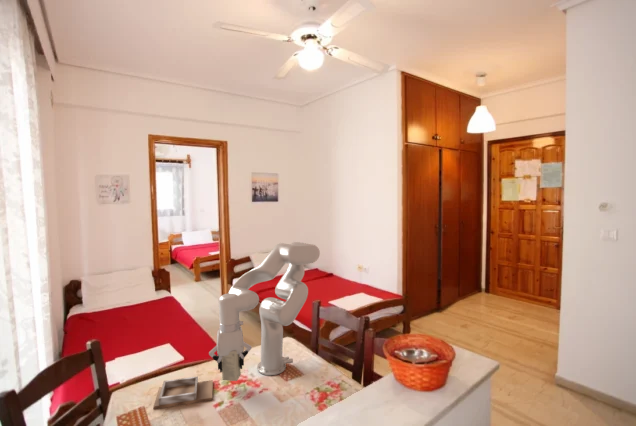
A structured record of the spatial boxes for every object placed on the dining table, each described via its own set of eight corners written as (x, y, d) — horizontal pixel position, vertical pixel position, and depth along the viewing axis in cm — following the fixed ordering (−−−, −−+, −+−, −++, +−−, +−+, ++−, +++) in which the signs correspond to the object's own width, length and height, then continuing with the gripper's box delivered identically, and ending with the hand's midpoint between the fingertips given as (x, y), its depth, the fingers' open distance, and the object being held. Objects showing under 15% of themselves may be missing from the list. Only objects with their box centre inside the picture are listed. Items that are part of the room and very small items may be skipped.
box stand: (212, 382, 135) (212, 374, 134) (212, 400, 123) (212, 391, 123) (159, 389, 129) (159, 381, 129) (153, 409, 117) (153, 399, 117)
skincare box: (240, 375, 132) (240, 346, 131) (237, 381, 128) (236, 351, 127) (225, 374, 133) (224, 345, 132) (221, 380, 129) (220, 351, 127)
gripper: (251, 319, 135) (252, 360, 136) (206, 324, 130) (208, 367, 131) (253, 326, 127) (254, 370, 129) (205, 333, 122) (207, 378, 124)
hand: (231, 368), depth 130 cm, fingers closed on skincare box, 7 cm apart
